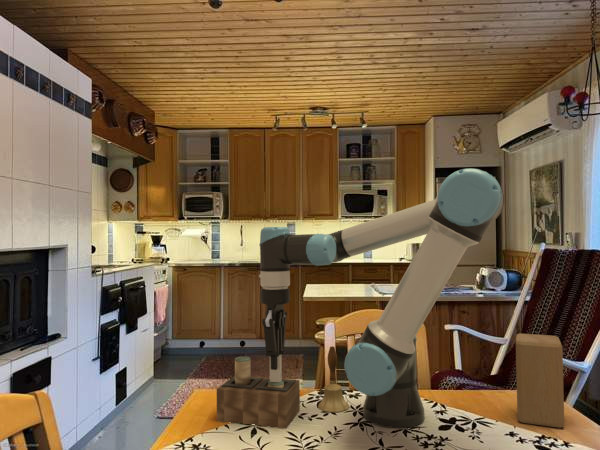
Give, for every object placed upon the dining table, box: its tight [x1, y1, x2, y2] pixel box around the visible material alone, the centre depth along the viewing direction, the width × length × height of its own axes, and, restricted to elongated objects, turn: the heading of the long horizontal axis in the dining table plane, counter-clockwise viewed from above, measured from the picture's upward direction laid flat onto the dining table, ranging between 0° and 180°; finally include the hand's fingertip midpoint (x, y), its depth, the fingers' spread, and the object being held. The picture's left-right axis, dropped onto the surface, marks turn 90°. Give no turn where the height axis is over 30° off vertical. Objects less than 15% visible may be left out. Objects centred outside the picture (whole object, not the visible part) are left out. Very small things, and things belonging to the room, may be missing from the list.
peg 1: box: [234, 356, 252, 385], centre depth 121 cm, size 4×4×8 cm
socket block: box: [216, 375, 301, 429], centre depth 120 cm, size 18×12×8 cm, turn 74°
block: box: [515, 333, 565, 429], centre depth 116 cm, size 10×10×20 cm
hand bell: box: [317, 345, 350, 413], centre depth 126 cm, size 8×8×16 cm
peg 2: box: [268, 381, 284, 388], centre depth 119 cm, size 4×4×8 cm
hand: (275, 381), depth 119 cm, fingers closed
